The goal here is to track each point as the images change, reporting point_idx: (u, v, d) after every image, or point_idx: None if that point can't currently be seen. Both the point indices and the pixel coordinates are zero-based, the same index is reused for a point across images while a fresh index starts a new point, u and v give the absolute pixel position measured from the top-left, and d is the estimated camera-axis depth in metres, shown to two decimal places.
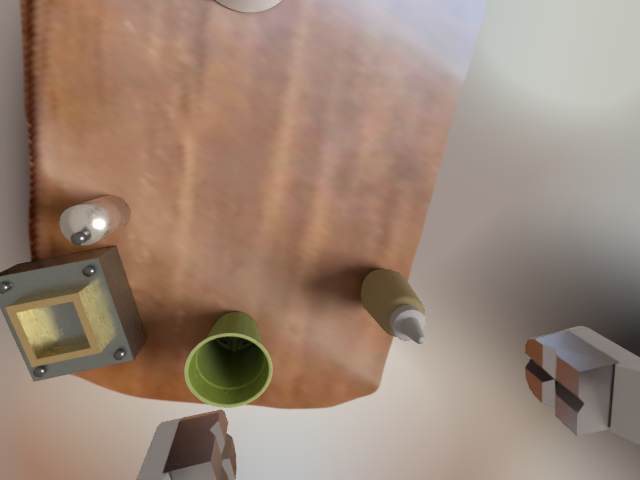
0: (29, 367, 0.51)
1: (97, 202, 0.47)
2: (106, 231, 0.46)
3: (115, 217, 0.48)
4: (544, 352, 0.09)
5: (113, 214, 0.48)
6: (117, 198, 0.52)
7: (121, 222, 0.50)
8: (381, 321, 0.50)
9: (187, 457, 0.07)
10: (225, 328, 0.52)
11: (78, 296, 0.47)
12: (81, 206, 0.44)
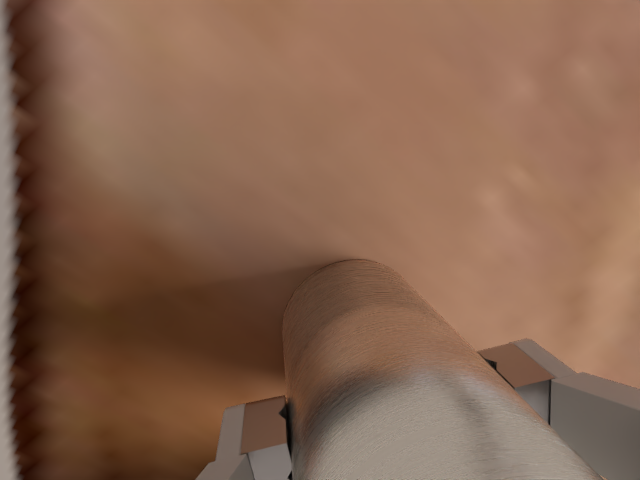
0: None
1: (467, 363, 0.07)
2: None
3: None
4: None
5: None
6: (399, 277, 0.12)
7: None
8: None
9: (261, 439, 0.08)
10: None
11: None
12: None
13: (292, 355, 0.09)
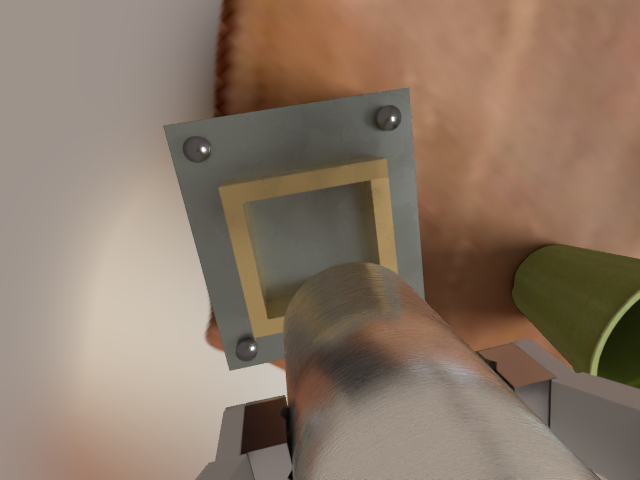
0: (225, 340, 0.24)
1: (469, 367, 0.07)
2: None
3: None
4: None
5: None
6: (401, 280, 0.12)
7: None
8: None
9: (261, 439, 0.08)
10: (634, 261, 0.24)
11: (385, 167, 0.20)
12: None
13: (293, 358, 0.09)
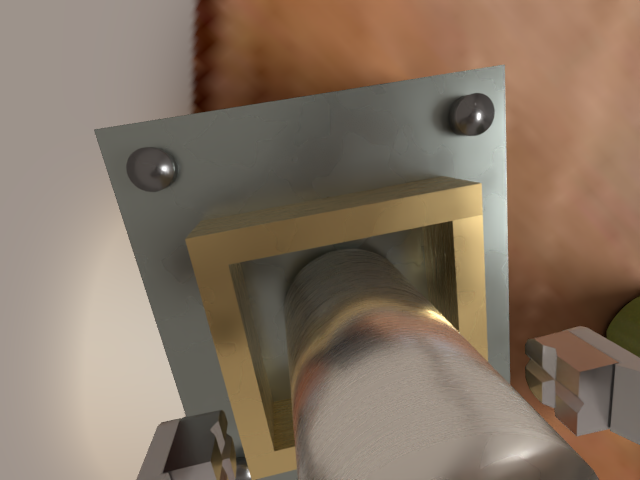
0: None
1: (439, 329, 0.08)
2: None
3: None
4: (544, 352, 0.09)
5: None
6: (389, 264, 0.13)
7: None
8: None
9: (187, 457, 0.07)
10: None
11: (478, 199, 0.11)
12: (500, 438, 0.05)
13: (293, 330, 0.11)
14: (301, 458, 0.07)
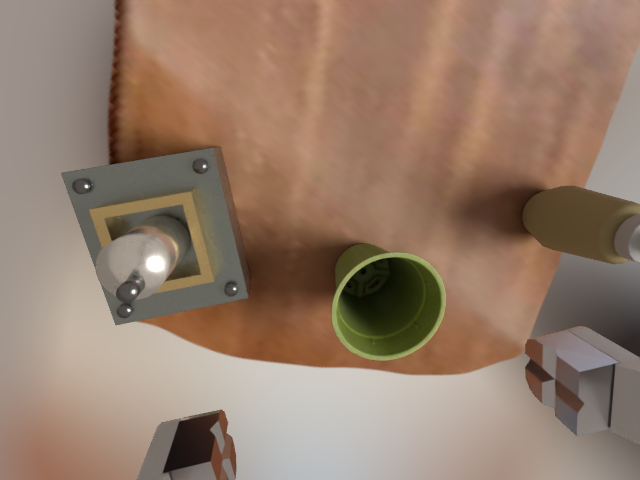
0: (111, 305, 0.37)
1: (150, 230, 0.30)
2: (166, 276, 0.29)
3: (176, 251, 0.32)
4: (544, 352, 0.09)
5: (173, 247, 0.31)
6: (172, 220, 0.35)
7: (181, 257, 0.34)
8: (597, 240, 0.37)
9: (187, 457, 0.07)
10: (376, 253, 0.38)
11: (190, 197, 0.33)
12: (130, 239, 0.27)
13: None
14: None
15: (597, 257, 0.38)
